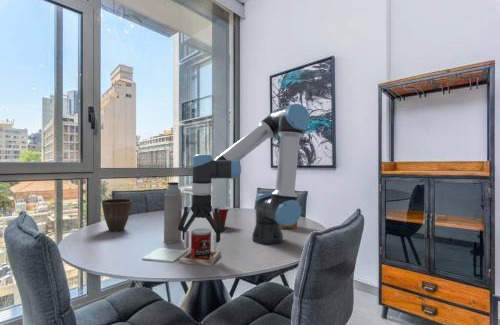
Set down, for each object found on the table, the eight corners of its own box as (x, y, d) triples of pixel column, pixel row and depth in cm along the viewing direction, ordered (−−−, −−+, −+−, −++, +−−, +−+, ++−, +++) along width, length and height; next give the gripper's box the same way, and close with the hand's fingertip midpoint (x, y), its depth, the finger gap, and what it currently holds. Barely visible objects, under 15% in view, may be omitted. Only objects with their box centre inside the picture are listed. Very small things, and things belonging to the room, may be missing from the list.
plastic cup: (228, 229, 160) (228, 208, 160) (209, 228, 160) (209, 207, 160) (229, 224, 171) (230, 205, 171) (212, 224, 171) (212, 204, 171)
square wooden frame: (220, 254, 116) (220, 251, 116) (210, 265, 103) (210, 261, 103) (192, 252, 118) (192, 248, 118) (179, 262, 106) (179, 258, 106)
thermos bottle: (183, 239, 138) (184, 182, 138) (176, 243, 130) (177, 183, 130) (168, 238, 139) (169, 181, 139) (160, 242, 131) (161, 182, 131)
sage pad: (187, 251, 119) (187, 250, 119) (173, 262, 106) (173, 260, 106) (159, 249, 121) (159, 248, 121) (141, 259, 108) (141, 258, 108)
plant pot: (137, 229, 156) (137, 200, 156) (111, 234, 144) (112, 203, 144) (121, 225, 164) (121, 198, 164) (95, 230, 152) (96, 200, 152)
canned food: (194, 263, 105) (194, 234, 105) (188, 256, 112) (188, 229, 112) (213, 260, 109) (214, 232, 109) (206, 254, 116) (207, 227, 116)
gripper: (233, 194, 112) (232, 248, 112) (178, 191, 117) (177, 244, 117) (228, 196, 105) (227, 254, 105) (169, 193, 109) (168, 249, 109)
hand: (200, 249), depth 111 cm, fingers open, 11 cm apart
